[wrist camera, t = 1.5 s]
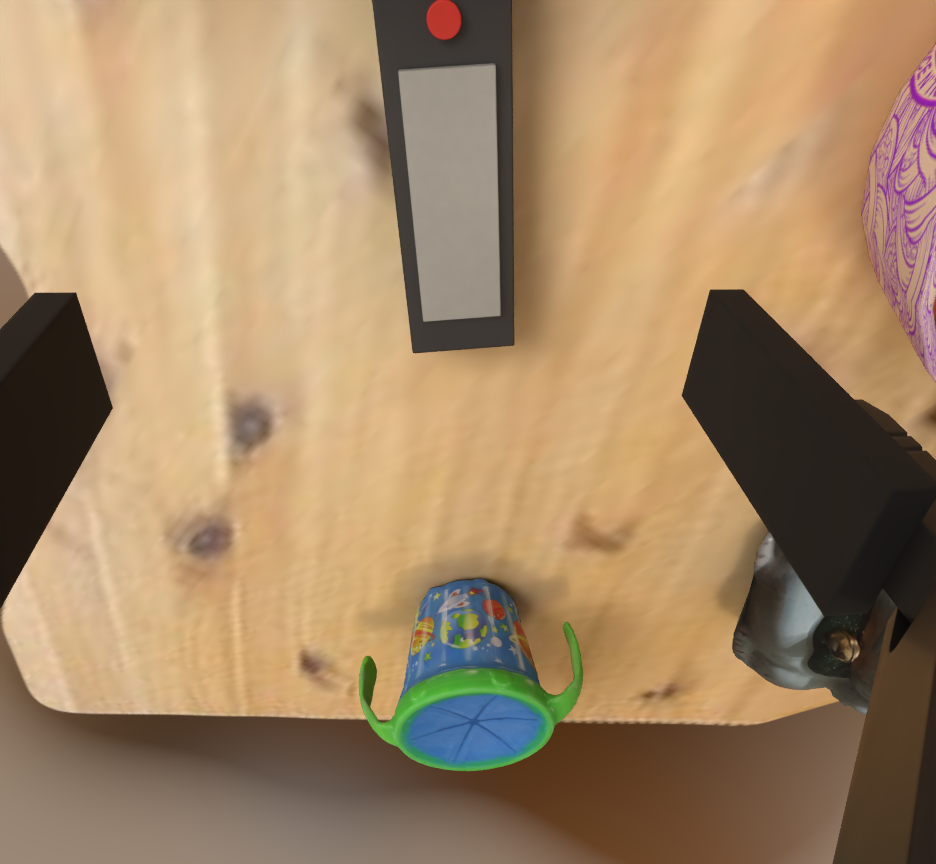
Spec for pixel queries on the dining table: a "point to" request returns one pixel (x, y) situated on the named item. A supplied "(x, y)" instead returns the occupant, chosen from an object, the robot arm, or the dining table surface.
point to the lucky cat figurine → (806, 634)
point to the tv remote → (451, 165)
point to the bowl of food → (907, 209)
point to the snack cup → (471, 683)
